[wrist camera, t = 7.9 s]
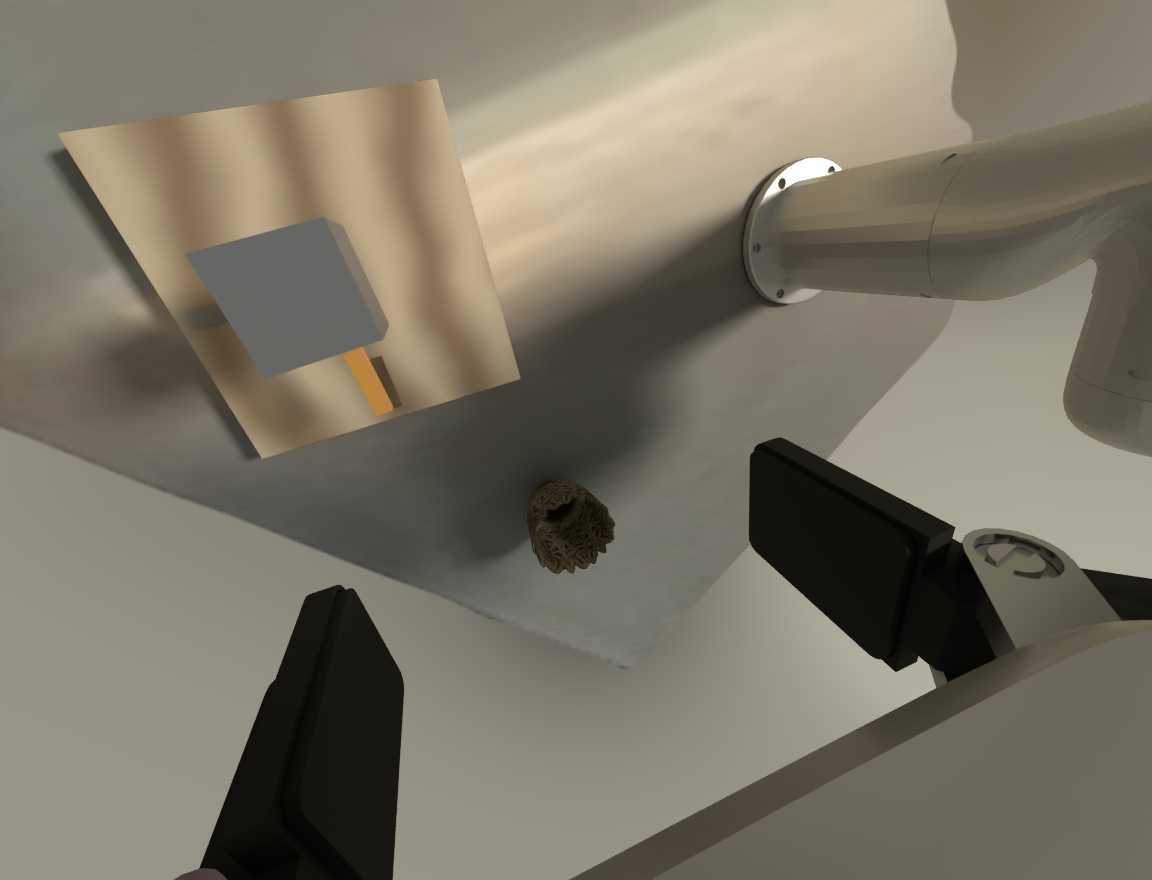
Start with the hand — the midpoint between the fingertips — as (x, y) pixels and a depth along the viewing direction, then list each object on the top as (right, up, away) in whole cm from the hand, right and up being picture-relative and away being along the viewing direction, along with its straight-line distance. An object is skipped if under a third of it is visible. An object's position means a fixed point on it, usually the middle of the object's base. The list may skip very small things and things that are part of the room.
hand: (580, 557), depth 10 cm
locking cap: (-13, +9, +15) cm, 22 cm away
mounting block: (-17, +14, +21) cm, 30 cm away
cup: (-3, -3, +33) cm, 34 cm away
